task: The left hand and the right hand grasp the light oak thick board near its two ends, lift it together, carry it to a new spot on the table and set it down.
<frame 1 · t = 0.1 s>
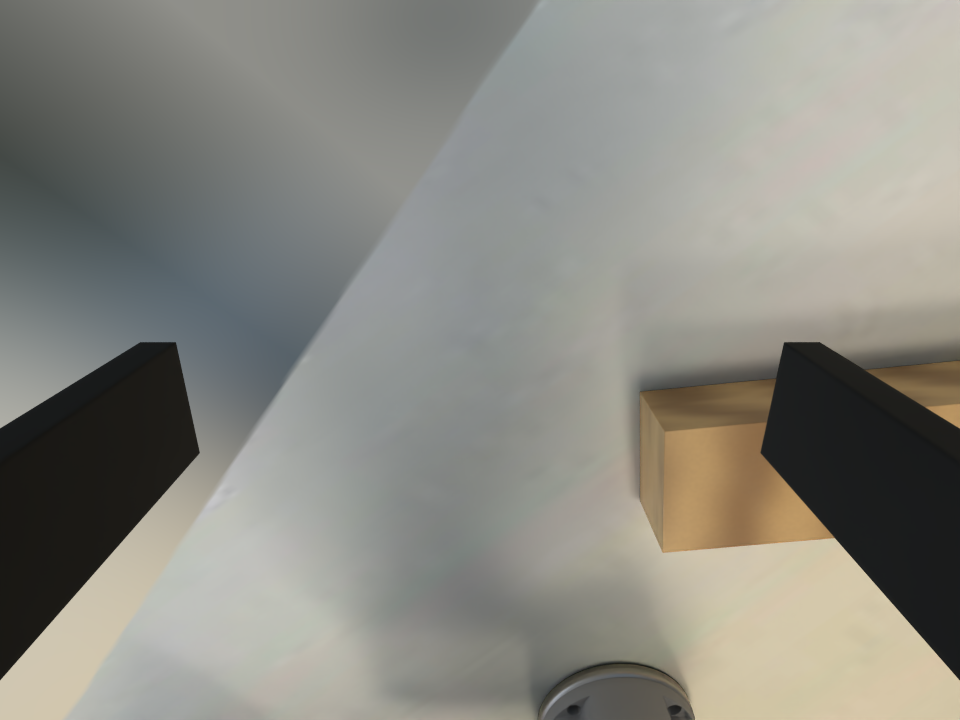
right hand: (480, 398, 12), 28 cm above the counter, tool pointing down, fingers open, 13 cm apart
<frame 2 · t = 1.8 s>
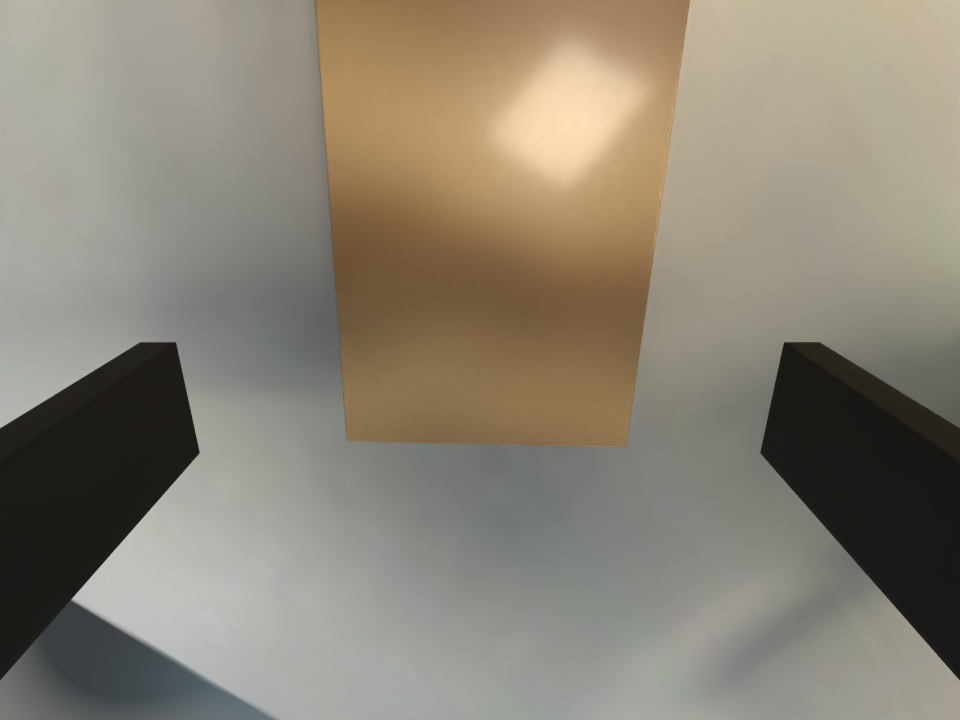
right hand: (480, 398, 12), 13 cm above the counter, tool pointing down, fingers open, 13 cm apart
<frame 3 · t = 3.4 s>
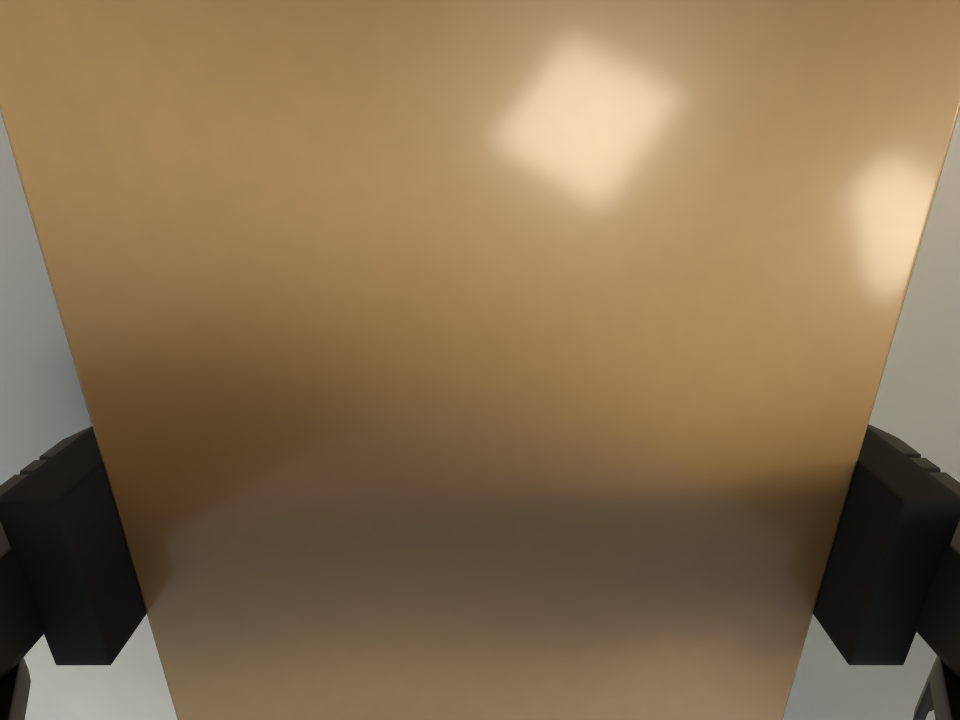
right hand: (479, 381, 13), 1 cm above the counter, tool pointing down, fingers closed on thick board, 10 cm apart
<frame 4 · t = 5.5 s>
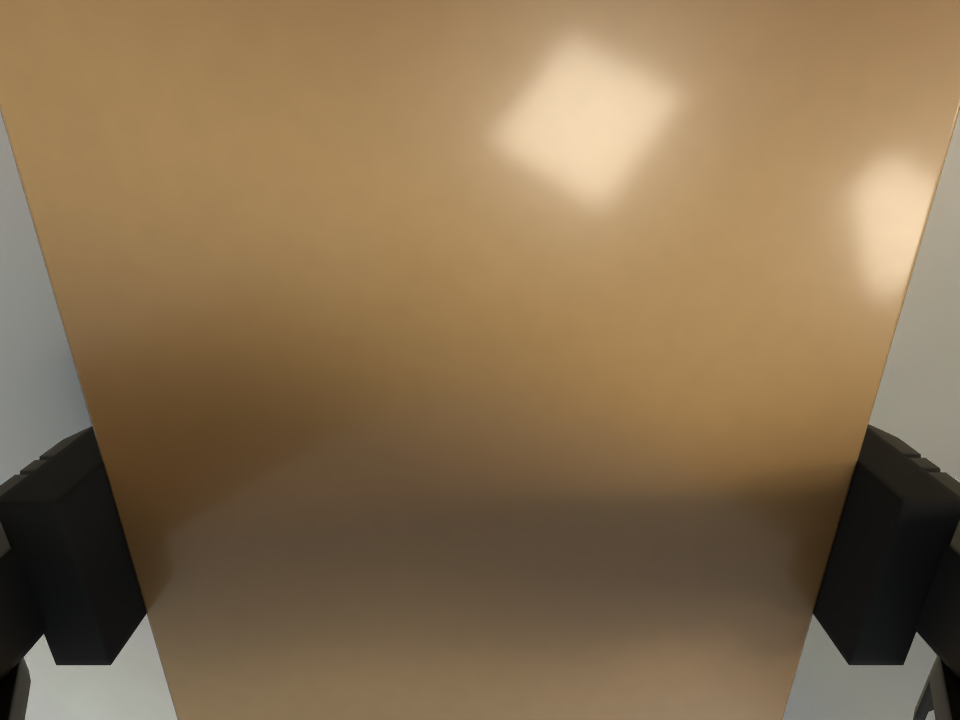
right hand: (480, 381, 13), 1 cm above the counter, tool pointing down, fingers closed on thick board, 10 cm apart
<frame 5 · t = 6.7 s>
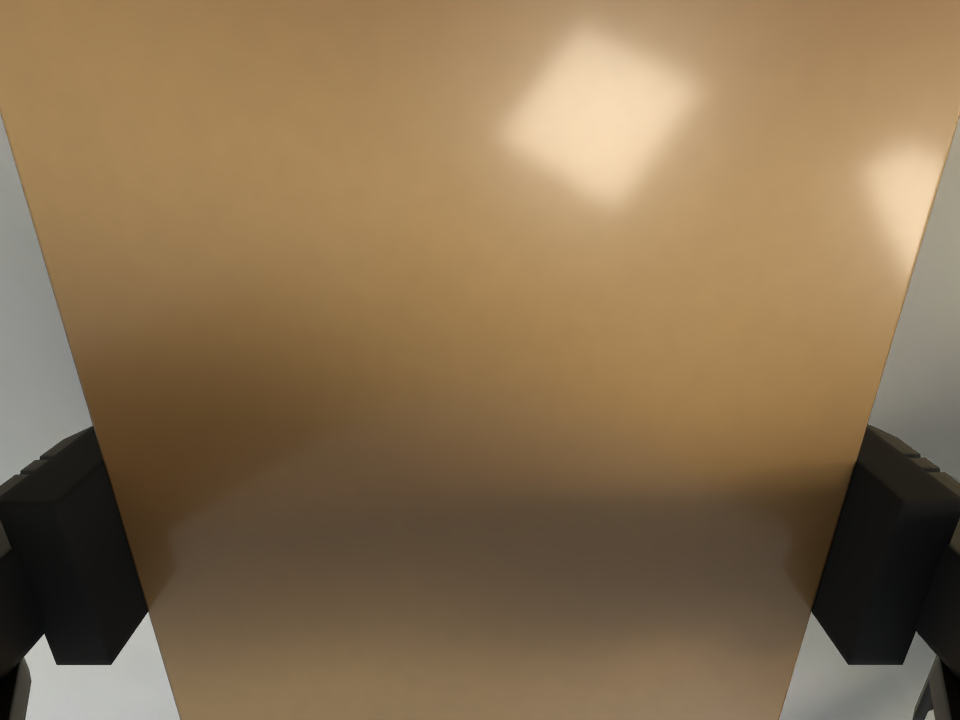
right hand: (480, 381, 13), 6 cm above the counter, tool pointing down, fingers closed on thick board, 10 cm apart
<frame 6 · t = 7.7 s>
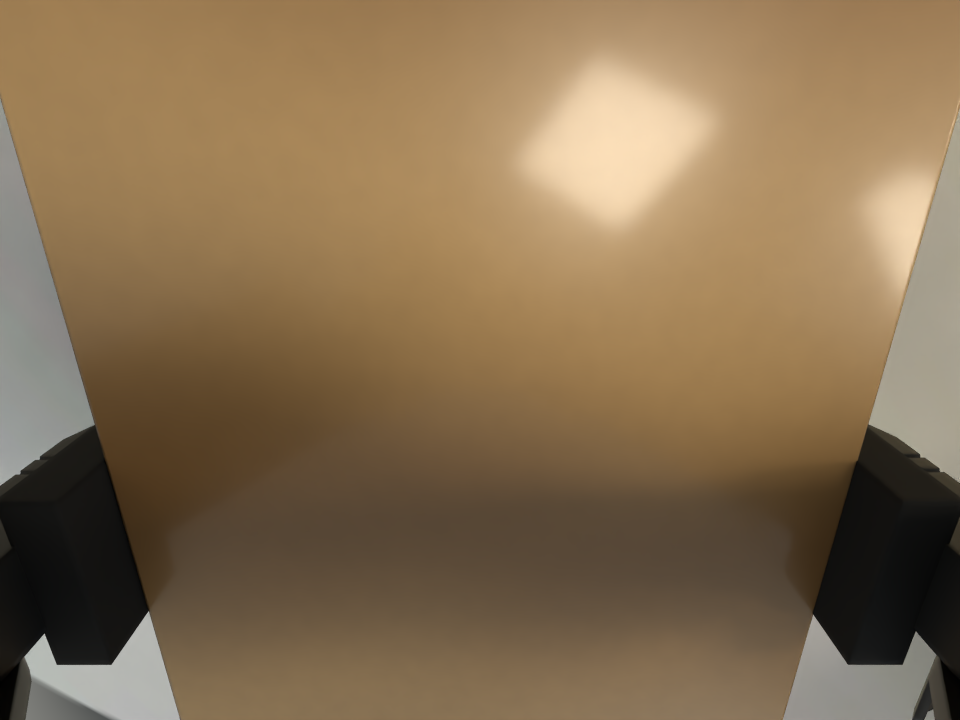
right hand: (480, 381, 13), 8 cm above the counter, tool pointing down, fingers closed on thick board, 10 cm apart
when the left hand's fingers open (2 cm above the counter, at t = 10.0 s): thick board drops 2 cm, on the counter.
when the right hand's fingers open (2 cm above the counter, at t = 10.0 s): thick board drops 2 cm, on the counter.
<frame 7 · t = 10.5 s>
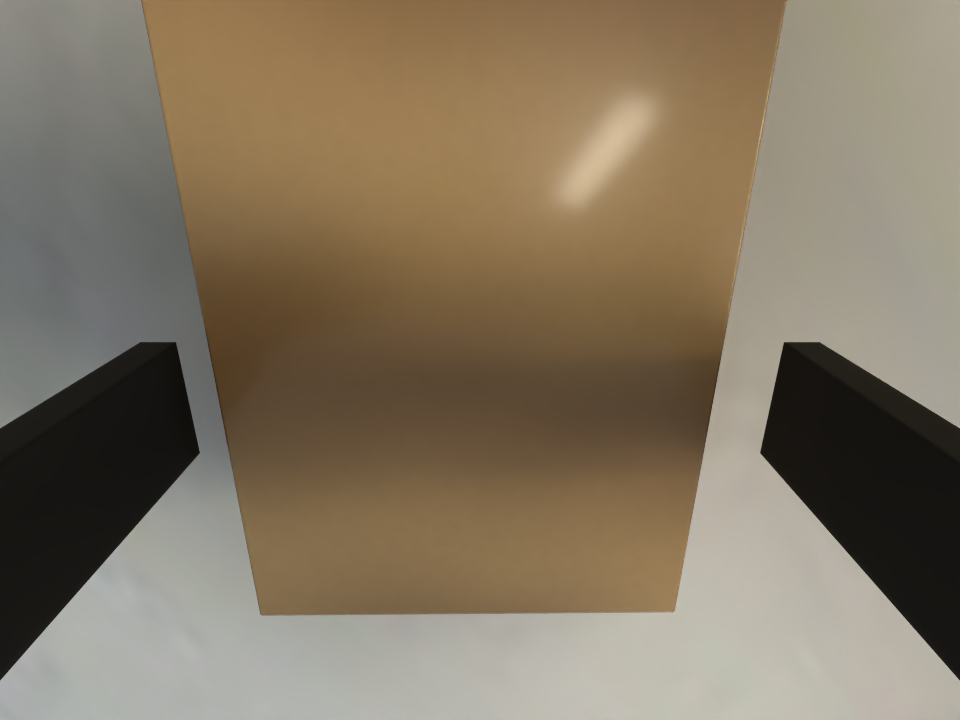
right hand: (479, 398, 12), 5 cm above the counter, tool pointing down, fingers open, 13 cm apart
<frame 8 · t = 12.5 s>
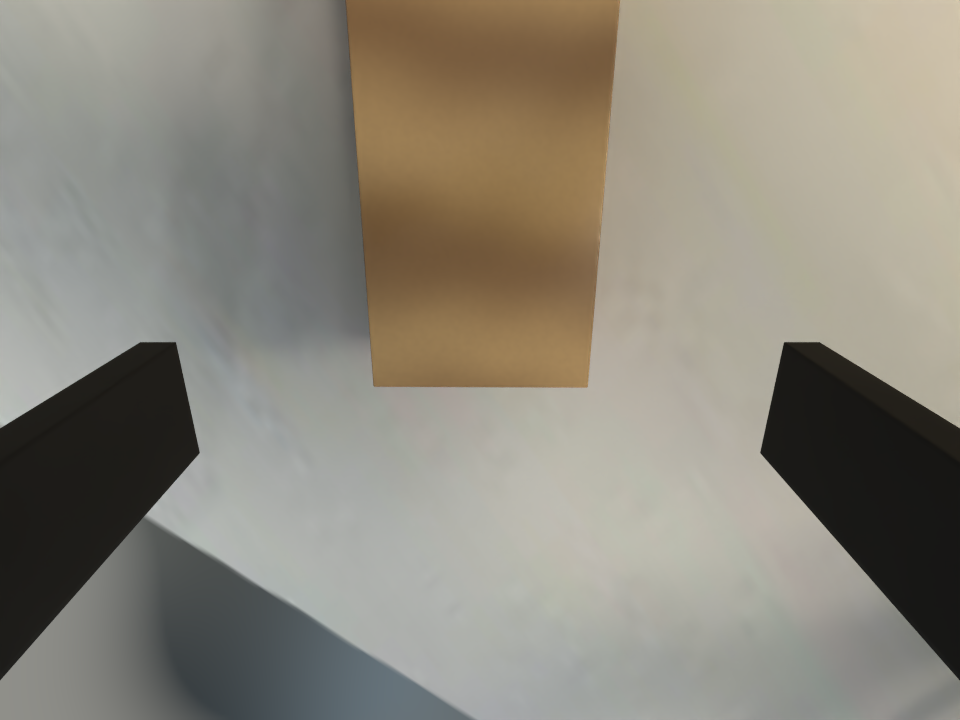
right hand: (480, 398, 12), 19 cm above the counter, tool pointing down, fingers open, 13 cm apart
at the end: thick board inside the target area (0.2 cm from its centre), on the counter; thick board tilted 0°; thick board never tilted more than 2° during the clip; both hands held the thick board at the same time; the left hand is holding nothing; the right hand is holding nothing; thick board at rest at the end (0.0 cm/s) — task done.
